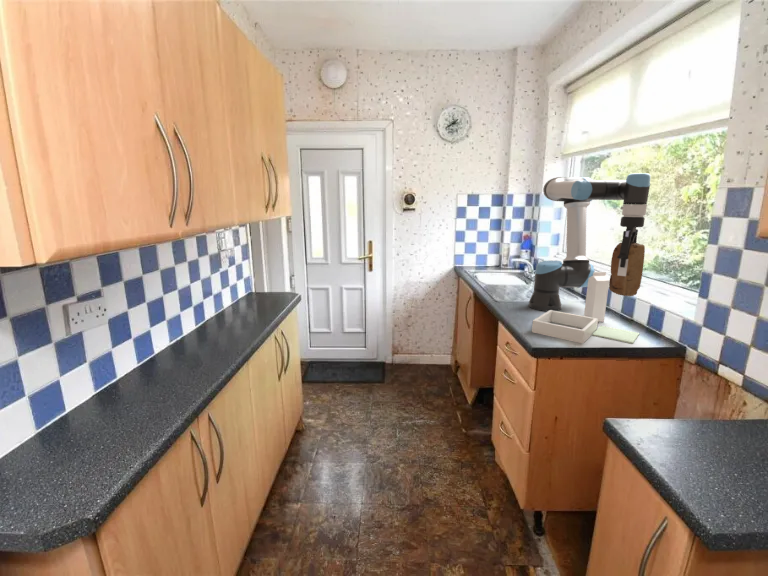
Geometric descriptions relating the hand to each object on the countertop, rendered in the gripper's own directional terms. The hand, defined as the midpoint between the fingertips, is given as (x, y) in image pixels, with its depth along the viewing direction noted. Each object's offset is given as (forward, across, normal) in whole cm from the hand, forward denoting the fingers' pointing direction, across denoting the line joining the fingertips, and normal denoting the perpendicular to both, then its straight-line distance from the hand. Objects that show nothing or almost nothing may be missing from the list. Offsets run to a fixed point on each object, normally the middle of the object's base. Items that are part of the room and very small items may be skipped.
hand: (624, 273), depth 151 cm
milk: (+25, -16, -12) cm, 32 cm away
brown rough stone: (+8, 0, 0) cm, 8 cm away
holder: (+25, +9, -17) cm, 32 cm away
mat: (+25, 0, 0) cm, 25 cm away
